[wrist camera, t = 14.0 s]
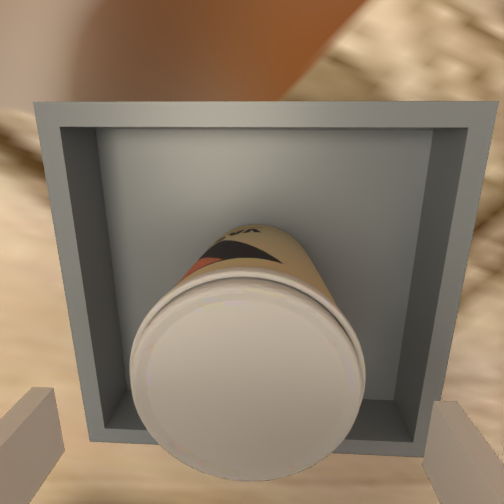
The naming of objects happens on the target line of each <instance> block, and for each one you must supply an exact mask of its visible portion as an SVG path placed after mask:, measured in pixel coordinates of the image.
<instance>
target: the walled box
mask: <svg viewBox="0 0 504 504" xmlns="http://www.w3.org/2000/svg"><path fill="white" fill-rule="evenodd" d="M498 103H499V101H278V102H33V104H34V110H35V116H36V122H37V128H38V134H39V140H40V146H41V152H42V158H43V164H44V170H45V176H46V182H47V188H48V194H49V200H50V206H51V212H52V218H53V224H54V230H55V236H56V242H57V248H58V254H59V260H60V266H61V272H62V278H63V284H64V290H65V296H66V302H67V308H68V314H69V320H70V326H71V332H72V338H73V344H74V350H75V356H76V362H77V368H78V374H79V380H80V386H81V392H82V398H83V404H84V410H85V416H86V422H87V428H88V434H89V440H90V442H111V443H132V444H153V445H160V444H159V443H158V442H157V441H156V440H155V439H154V438H153V437H152V436H151V434H150V433H149V432H148V430H147V429H146V427H145V426H144V424H143V422H142V420H141V419H140V417H139V415H138V412H137V410H136V407H135V404H134V400H133V396H132V390H131V381H130V355H131V349H132V345H133V341H134V339H135V336H136V334H137V331H138V329H139V327H140V325H141V323H142V322H143V320H144V318H145V317H146V315H147V314H148V313H149V311H150V310H151V309H152V308H153V306H154V305H155V304H156V303H157V302H158V301H159V300H160V299H161V298H162V297H163V296H165V295H166V294H167V293H168V292H169V291H171V290H172V289H173V288H174V287H175V286H176V284H177V283H178V282H179V281H180V280H181V279H182V277H183V276H184V275H185V274H186V273H187V272H188V271H189V269H190V268H191V267H192V266H193V265H194V264H195V263H196V262H197V261H198V259H199V258H200V257H201V256H202V255H203V254H204V253H205V252H206V251H207V249H208V248H209V247H210V246H211V245H212V244H213V243H214V242H215V241H216V240H217V239H218V238H220V237H221V236H222V235H224V234H225V233H227V232H228V231H230V230H232V229H235V228H237V227H241V226H245V225H252V224H261V225H268V226H272V227H275V228H278V229H280V230H283V231H284V232H286V233H288V234H289V235H291V236H292V237H293V238H294V239H295V240H297V241H298V242H299V244H300V245H301V246H302V247H303V249H304V250H305V251H306V253H307V254H308V256H309V258H310V259H311V261H312V263H313V264H314V266H315V268H316V270H317V271H318V273H319V275H320V277H321V278H322V280H323V282H324V284H325V285H326V287H327V289H328V291H329V292H330V294H331V296H332V298H333V300H334V301H335V303H336V305H337V307H338V308H339V309H340V311H341V312H342V313H343V315H344V316H345V317H346V319H347V320H348V321H349V323H350V325H351V326H352V328H353V330H354V332H355V333H356V336H357V338H358V340H359V343H360V346H361V349H362V353H363V357H364V363H365V374H366V381H365V390H364V395H363V399H362V402H361V405H360V408H359V412H358V414H357V417H356V419H355V422H354V424H353V426H352V428H351V430H350V431H349V433H348V434H347V436H346V437H345V439H344V440H343V441H342V442H341V443H340V445H339V446H338V447H337V448H336V449H335V450H334V451H333V452H332V453H341V454H362V455H383V456H403V457H424V453H425V447H426V442H427V436H428V430H429V425H430V419H431V413H432V408H433V402H434V401H440V399H441V394H442V389H443V384H444V379H445V374H446V369H447V364H448V358H449V353H450V348H451V343H452V338H453V333H454V328H455V323H456V318H457V312H458V307H459V302H460V297H461V292H462V287H463V282H464V277H465V272H466V266H467V261H468V256H469V251H470V246H471V241H472V236H473V231H474V226H475V220H476V215H477V210H478V205H479V200H480V195H481V190H482V185H483V180H484V174H485V169H486V164H487V159H488V154H489V149H490V144H491V139H492V134H493V129H494V123H495V118H496V113H497V108H498Z"/></svg>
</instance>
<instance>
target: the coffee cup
mask: <svg viewBox="0 0 504 504" xmlns="http://www.w3.org/2000/svg"><path fill="white" fill-rule="evenodd" d="M130 381H131V390H132V396H133V400H134V404H135V407H136V410H137V412H138V415H139V417H140V419H141V420H142V422H143V424H144V426H145V427H146V429H147V430H148V432H149V433H150V434H151V436H152V437H153V438H154V439H155V440H156V441H157V442H158V443H159V444H160V446H161V447H162V448H163V449H165V450H166V451H167V452H168V453H170V454H171V455H172V456H173V457H175V458H176V459H178V460H179V461H181V462H182V463H184V464H186V465H188V466H190V467H192V468H194V469H196V470H198V471H200V472H203V473H206V474H209V475H212V476H216V477H219V478H223V479H229V480H237V481H268V480H273V479H279V478H283V477H287V476H291V475H293V474H296V473H299V472H301V471H303V470H306V469H308V468H310V467H312V466H313V465H315V464H317V463H318V462H320V461H321V460H323V459H324V458H326V457H327V456H328V455H329V454H330V453H332V452H333V451H334V450H335V449H336V448H337V447H338V446H339V445H340V443H341V442H342V441H343V440H344V439H345V437H346V436H347V434H348V433H349V431H350V430H351V428H352V426H353V424H354V422H355V419H356V417H357V414H358V412H359V408H360V405H361V402H362V399H363V395H364V390H365V381H366V374H365V363H364V357H363V353H362V349H361V346H360V343H359V340H358V338H357V336H356V333H355V332H354V330H353V328H352V326H351V325H350V323H349V321H348V320H347V319H346V317H345V316H344V315H343V313H342V312H341V311H340V309H339V308H338V307H337V305H336V303H335V301H334V300H333V298H332V296H331V294H330V292H329V291H328V289H327V287H326V285H325V284H324V282H323V280H322V278H321V277H320V275H319V273H318V271H317V270H316V268H315V266H314V264H313V263H312V261H311V259H310V258H309V256H308V254H307V253H306V251H305V250H304V249H303V247H302V246H301V245H300V244H299V242H298V241H297V240H295V239H294V238H293V237H292V236H291V235H289V234H288V233H286V232H284V231H283V230H280V229H278V228H275V227H272V226H268V225H261V224H252V225H245V226H241V227H237V228H235V229H232V230H230V231H228V232H227V233H225V234H224V235H222V236H221V237H220V238H218V239H217V240H216V241H215V242H214V243H213V244H212V245H211V246H210V247H209V248H208V249H207V251H206V252H205V253H204V254H203V255H202V256H201V257H200V258H199V259H198V261H197V262H196V263H195V264H194V265H193V266H192V267H191V268H190V269H189V271H188V272H187V273H186V274H185V275H184V276H183V277H182V279H181V280H180V281H179V282H178V283H177V284H176V286H175V287H174V288H173V289H172V290H171V291H169V292H168V293H167V294H166V295H165V296H163V297H162V298H161V299H160V300H159V301H158V302H157V303H156V304H155V305H154V306H153V308H152V309H151V310H150V311H149V313H148V314H147V315H146V317H145V318H144V320H143V322H142V323H141V325H140V327H139V329H138V331H137V334H136V336H135V339H134V341H133V345H132V349H131V355H130Z"/></svg>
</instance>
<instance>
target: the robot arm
mask: <svg viewBox="0 0 504 504" xmlns="http://www.w3.org/2000/svg"><path fill="white" fill-rule="evenodd" d="M64 451H65V449H64V443H63V438H62V432H61V427H60V421H59V416H58V410H57V405H56V399H55V394H54V388H42V387H32V388H31V389H30V390H29V391H28V392H27V393H26V394H25V395H24V396H23V397H22V398H21V399H20V400H19V401H18V402H17V403H16V404H15V405H14V406H13V407H12V408H11V409H10V410H9V411H8V412H7V413H6V414H5V415H4V416H3V417H2V418H1V419H0V504H29V503H30V502H31V500H32V499H33V497H34V496H35V494H36V493H37V491H38V490H39V488H40V487H41V485H42V484H43V482H44V481H45V479H46V478H47V476H48V475H49V473H50V472H51V470H52V469H53V467H54V466H55V464H56V463H57V461H58V460H59V458H60V457H61V455H62V454H63V453H64ZM422 466H423V468H424V470H425V472H426V474H427V476H428V478H429V480H430V482H431V484H432V487H433V489H434V491H435V493H436V495H437V497H438V499H439V501H440V503H441V504H504V464H503V463H502V462H501V460H500V459H499V457H498V456H497V455H496V453H495V452H494V451H493V449H492V448H491V447H490V445H489V444H488V443H487V441H486V440H485V439H484V437H483V436H482V435H481V433H480V432H479V430H478V429H477V428H476V426H475V425H474V424H473V422H472V421H471V420H470V418H469V417H468V416H467V414H466V413H465V412H464V410H463V409H462V408H461V406H460V405H459V404H458V402H456V401H434V402H433V408H432V413H431V419H430V425H429V430H428V436H427V442H426V447H425V453H424V458H423V464H422Z"/></svg>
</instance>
